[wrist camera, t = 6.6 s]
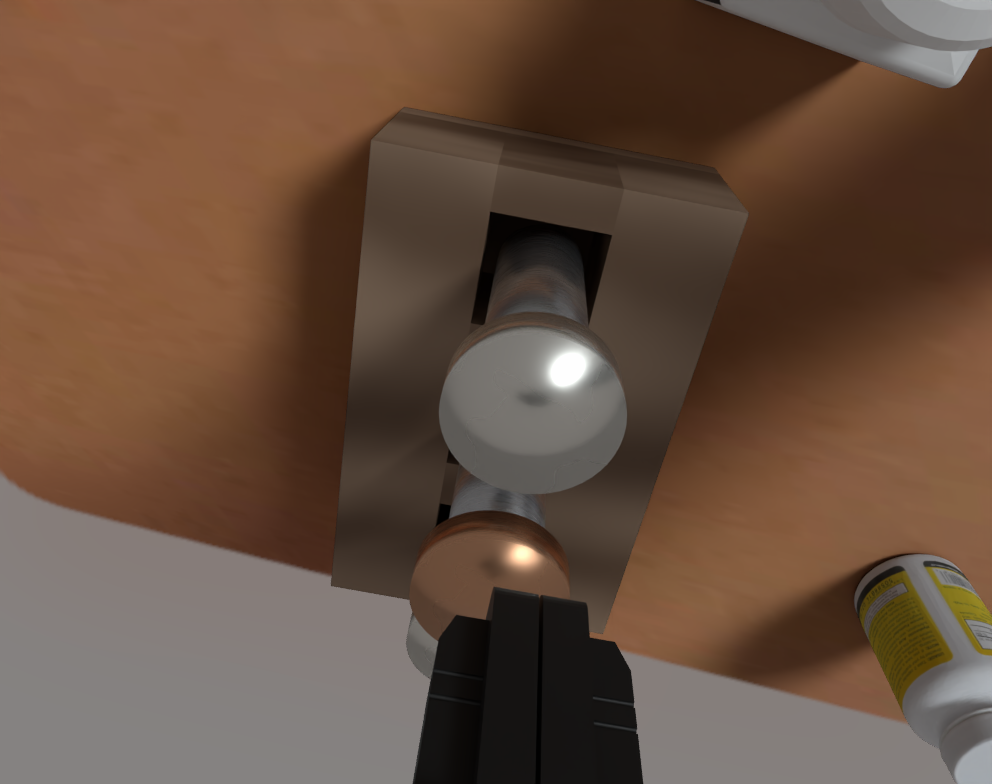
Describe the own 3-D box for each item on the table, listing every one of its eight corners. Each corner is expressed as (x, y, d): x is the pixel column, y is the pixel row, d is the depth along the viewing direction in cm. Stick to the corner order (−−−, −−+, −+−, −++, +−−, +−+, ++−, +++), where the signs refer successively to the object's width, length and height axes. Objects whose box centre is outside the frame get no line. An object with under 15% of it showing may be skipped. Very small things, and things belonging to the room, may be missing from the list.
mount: (404, 107, 29) (371, 139, 24) (714, 167, 29) (749, 213, 24) (361, 500, 38) (330, 585, 33) (596, 542, 39) (602, 633, 33)
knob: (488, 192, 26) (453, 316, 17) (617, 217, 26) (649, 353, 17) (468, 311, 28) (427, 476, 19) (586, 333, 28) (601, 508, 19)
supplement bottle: (852, 634, 41) (931, 814, 32) (849, 558, 38) (934, 730, 30) (962, 622, 40) (1073, 803, 31) (967, 542, 37) (1089, 716, 29)
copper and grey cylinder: (461, 349, 29) (419, 526, 20) (576, 371, 29) (586, 556, 20) (445, 445, 31) (400, 643, 22) (552, 465, 31) (551, 669, 22)
